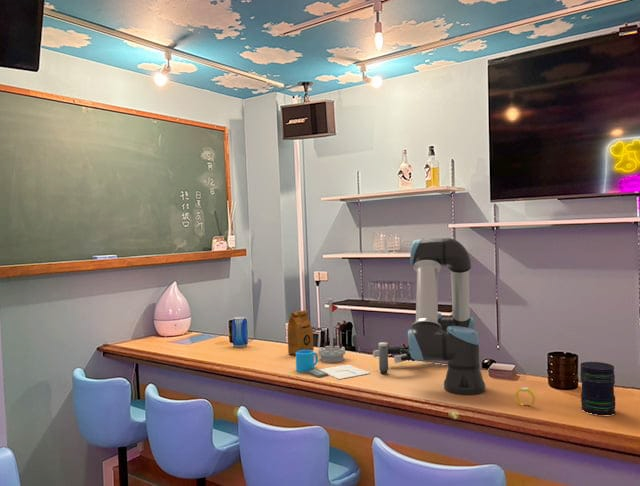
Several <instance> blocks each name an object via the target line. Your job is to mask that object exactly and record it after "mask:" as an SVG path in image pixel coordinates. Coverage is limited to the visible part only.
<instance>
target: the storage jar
mask: <svg viewBox="0 0 640 486" xmlns="http://www.w3.org/2000/svg"><path fill="white" fill-rule="evenodd" d="M579 366H580V372H579V373H580V382H581V392H580V402H581V411H582V410H584V411H585V412H588V413H592V414H597V415H612V414H615V415H616V410H615V409H616V395H615V383H616V380H615V379H616V378H615V377H616V375H615V371H614V370H615V366H614V365H612V364H611V363H606V362H602V361H601V362H599V361H584V362H581V363H580V365H579ZM585 412H584V413H585Z"/></svg>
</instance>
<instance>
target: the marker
mask: <svg viewBox="0 0 640 486" xmlns="http://www.w3.org/2000/svg"><path fill="white" fill-rule="evenodd" d="M388 345H389V343H388V342H385V341H384V342H382V341H381V342H378V350H379V357H378V360H379V362H378V365H379V372H380V374H381V375H387V374H388V371H389V354H388V347H389V346H388Z"/></svg>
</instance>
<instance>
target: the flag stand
mask: <svg viewBox="0 0 640 486" xmlns="http://www.w3.org/2000/svg"><path fill="white" fill-rule="evenodd" d="M326 302H327V304H328V317H329V318H328V321H329V345H325V346H324V347H319V348H318V355H319V357H320V361H321V362H324V363H340V362H342V361H344V356H345V355H346V348H345V346H341V347H340V345H334V330H333V327H334V325H333V324H334V323H333V312H335V311H336V310H337V309H338V308H339V307H338V306H337V305H335V304H334V299H333V298H332V297H329V298H327V299H326Z"/></svg>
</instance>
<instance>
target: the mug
mask: <svg viewBox="0 0 640 486" xmlns="http://www.w3.org/2000/svg"><path fill="white" fill-rule="evenodd" d="M318 361H319V356H318V354H317V353H316V352H315V351H314V350H313V351H312V350H300V351H297V352H296V355H295V371H296V372H298V373H307V370H312V369H315V366H316V365H317V363H318Z"/></svg>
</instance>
